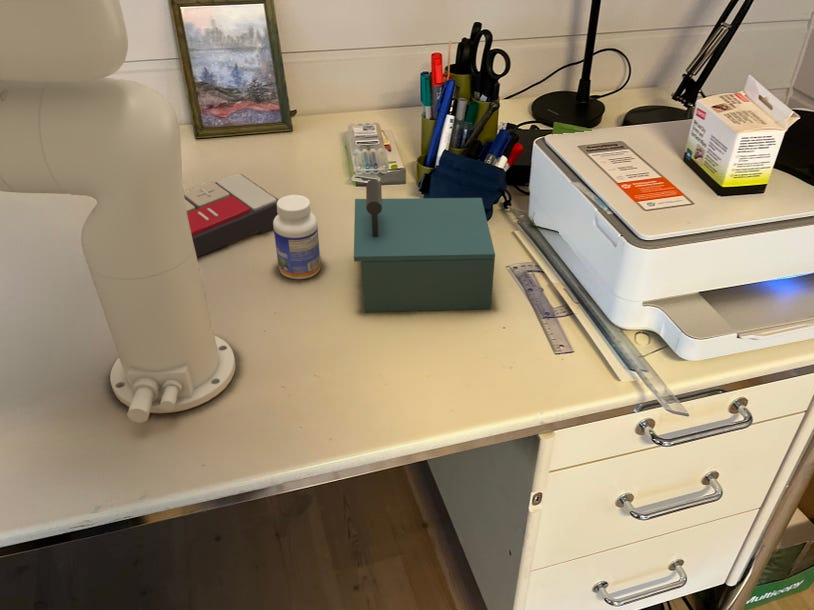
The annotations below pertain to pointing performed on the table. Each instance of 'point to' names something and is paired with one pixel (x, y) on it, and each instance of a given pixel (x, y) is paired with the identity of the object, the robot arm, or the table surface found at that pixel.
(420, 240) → the lid
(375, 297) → the case
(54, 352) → the table surface
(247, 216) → the calculator
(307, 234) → the pill bottle
